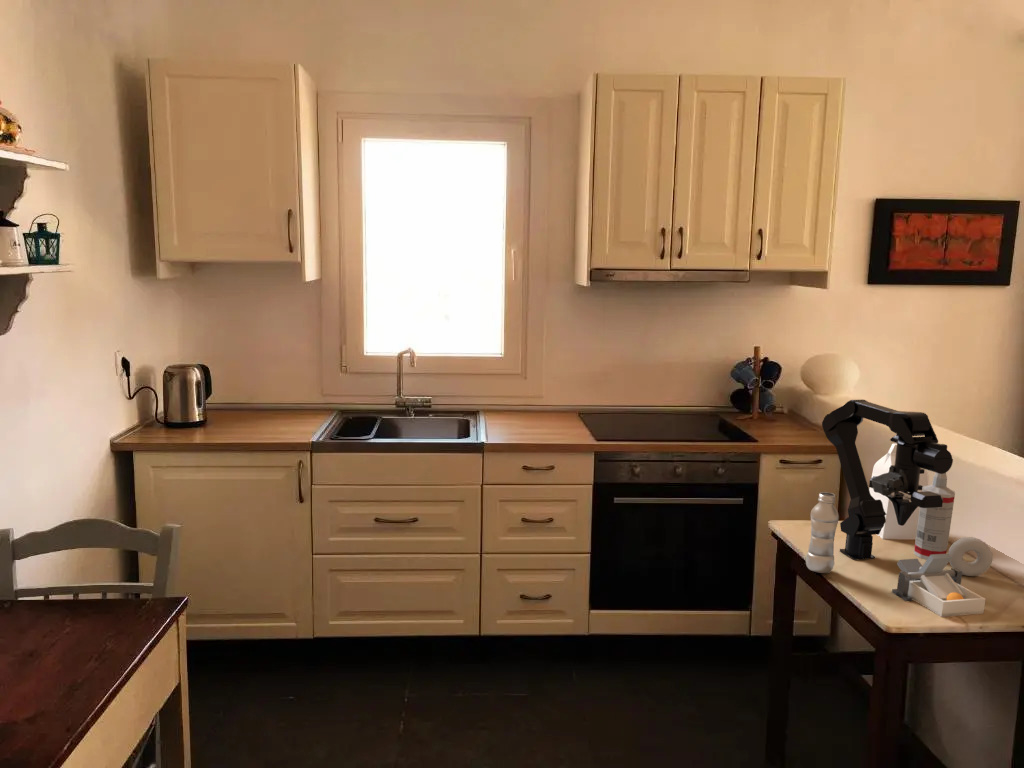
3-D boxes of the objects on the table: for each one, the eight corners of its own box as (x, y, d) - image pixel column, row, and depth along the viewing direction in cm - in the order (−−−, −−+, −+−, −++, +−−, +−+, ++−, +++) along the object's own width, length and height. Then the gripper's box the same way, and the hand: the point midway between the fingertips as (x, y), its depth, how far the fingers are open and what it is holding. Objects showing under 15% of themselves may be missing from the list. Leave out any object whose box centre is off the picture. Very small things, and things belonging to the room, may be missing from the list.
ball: (953, 593, 180) (955, 609, 180) (966, 592, 181) (968, 608, 180) (941, 592, 184) (944, 608, 183) (954, 591, 184) (957, 607, 184)
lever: (883, 564, 196) (902, 536, 189) (927, 561, 199) (947, 533, 192) (915, 612, 185) (937, 583, 179) (961, 608, 188) (983, 580, 182)
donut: (987, 575, 203) (993, 538, 201) (991, 581, 200) (997, 542, 198) (943, 569, 206) (949, 532, 204) (947, 575, 202) (952, 537, 201)
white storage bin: (905, 595, 189) (907, 581, 189) (946, 592, 192) (948, 578, 191) (941, 616, 179) (943, 602, 178) (983, 613, 181) (985, 598, 181)
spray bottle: (933, 562, 210) (946, 470, 206) (907, 552, 216) (919, 462, 212) (952, 558, 214) (965, 467, 209) (926, 548, 220) (938, 460, 216)
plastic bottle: (835, 577, 198) (844, 499, 194) (806, 574, 199) (815, 496, 196) (830, 567, 204) (839, 491, 200) (802, 564, 205) (810, 489, 202)
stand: (891, 592, 191) (894, 569, 190) (948, 588, 194) (951, 565, 193) (906, 601, 186) (909, 577, 185) (964, 597, 190) (967, 573, 189)
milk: (901, 525, 239) (913, 439, 234) (923, 539, 227) (935, 450, 223) (862, 524, 238) (873, 438, 233) (882, 538, 226) (894, 449, 222)
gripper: (854, 455, 203) (848, 515, 205) (908, 474, 185) (901, 539, 188) (891, 454, 206) (884, 512, 208) (948, 472, 188) (940, 537, 191)
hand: (901, 525), depth 199 cm, fingers closed
